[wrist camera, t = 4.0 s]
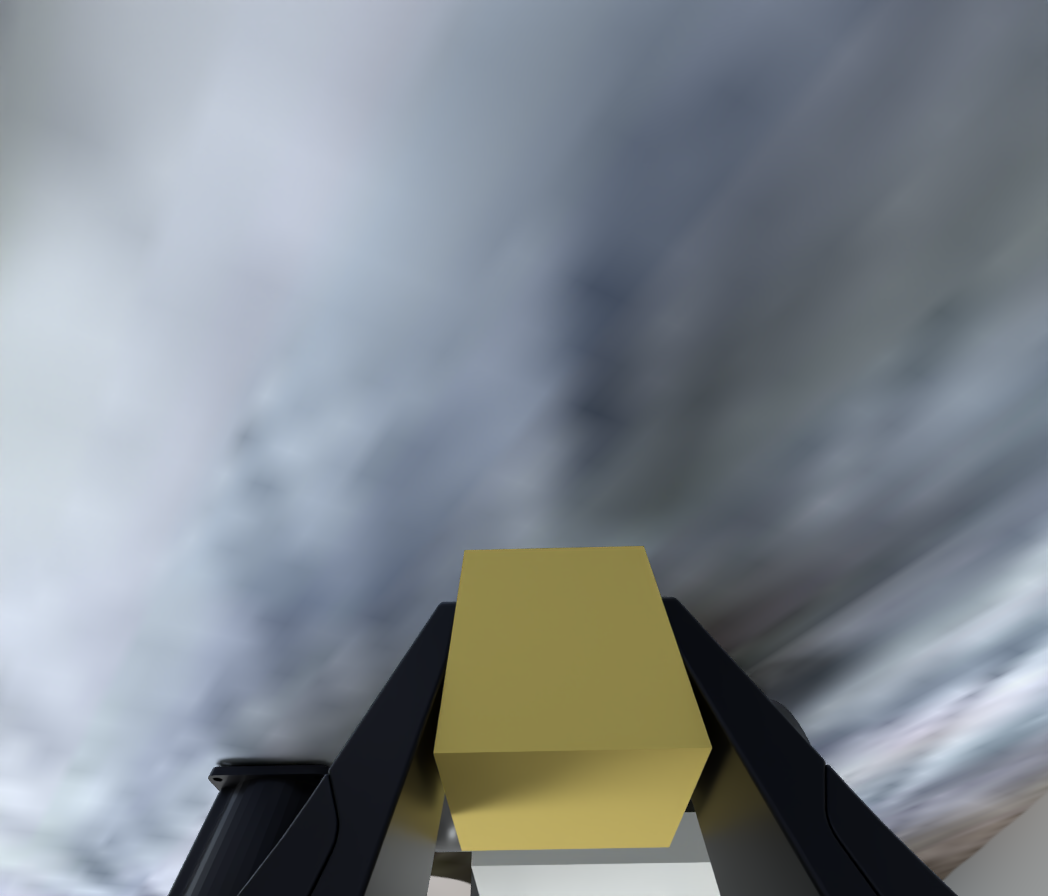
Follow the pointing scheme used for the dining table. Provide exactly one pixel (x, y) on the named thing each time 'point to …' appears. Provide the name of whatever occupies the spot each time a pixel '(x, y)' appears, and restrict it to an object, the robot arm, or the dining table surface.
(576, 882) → the trolley
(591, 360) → the dining table surface
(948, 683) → the dining table surface
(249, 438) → the dining table surface
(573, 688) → the yellow step block
